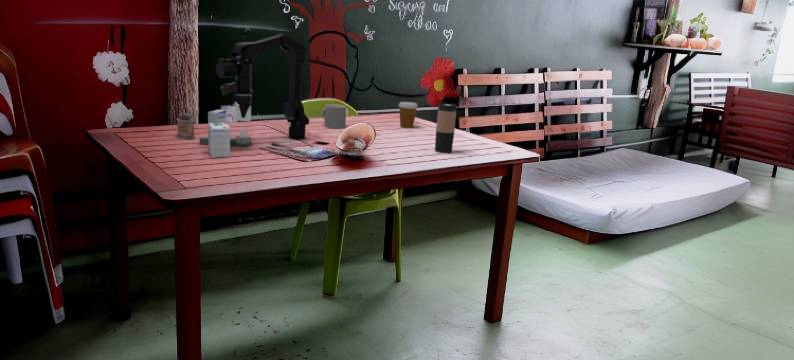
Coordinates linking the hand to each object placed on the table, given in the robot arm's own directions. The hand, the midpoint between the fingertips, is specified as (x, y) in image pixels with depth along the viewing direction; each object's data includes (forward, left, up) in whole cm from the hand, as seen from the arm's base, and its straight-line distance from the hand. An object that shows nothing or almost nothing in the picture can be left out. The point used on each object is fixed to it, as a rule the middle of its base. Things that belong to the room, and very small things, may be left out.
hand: (243, 116), depth 236 cm
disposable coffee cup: (-77, -47, -12) cm, 91 cm away
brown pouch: (+23, -10, -12) cm, 28 cm away
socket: (0, 0, -1) cm, 1 cm away
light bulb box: (+8, +15, -12) cm, 21 cm away
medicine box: (+12, -26, -12) cm, 31 cm away
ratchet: (+7, 0, -12) cm, 13 cm away
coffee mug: (-40, -44, -12) cm, 61 cm away
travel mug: (-82, +3, -12) cm, 83 cm away
